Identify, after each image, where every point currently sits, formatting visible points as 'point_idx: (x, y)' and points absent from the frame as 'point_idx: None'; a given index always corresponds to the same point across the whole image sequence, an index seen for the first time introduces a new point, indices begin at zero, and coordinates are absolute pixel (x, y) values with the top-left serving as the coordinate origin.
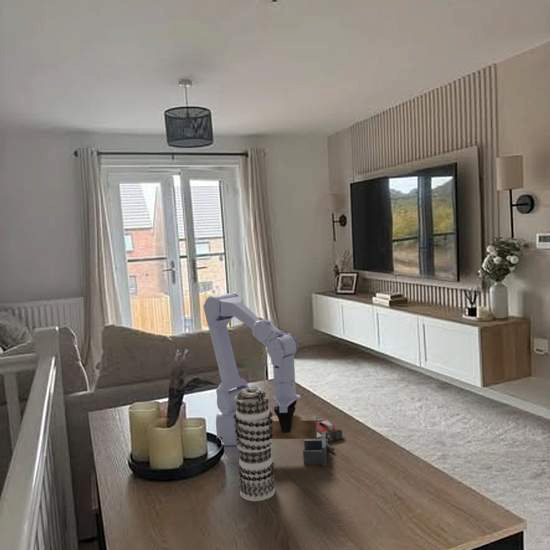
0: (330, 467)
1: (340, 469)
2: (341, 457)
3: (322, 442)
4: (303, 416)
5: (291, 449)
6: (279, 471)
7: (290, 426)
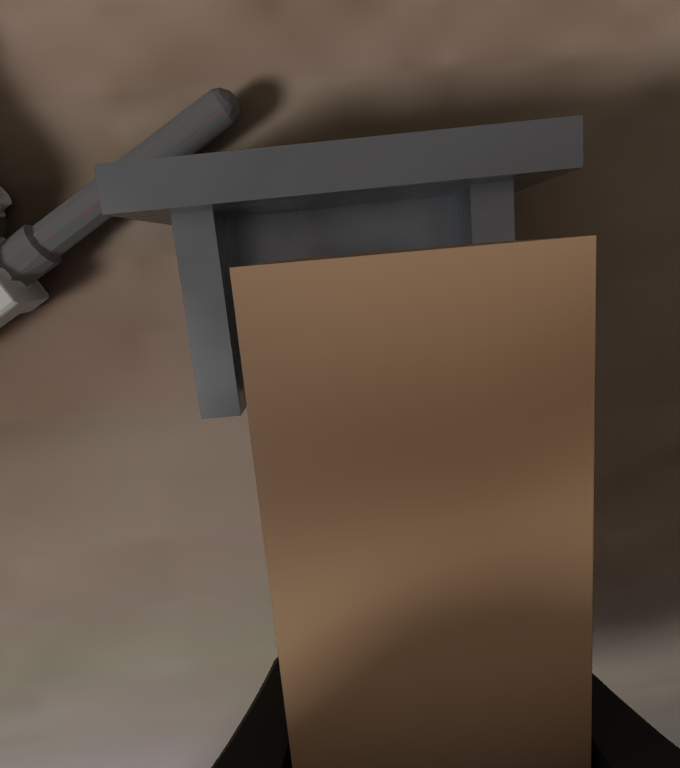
0: (536, 114)
1: (577, 8)
2: (322, 15)
3: (424, 174)
4: (346, 557)
5: (203, 503)
6: (605, 536)
7: (621, 700)
